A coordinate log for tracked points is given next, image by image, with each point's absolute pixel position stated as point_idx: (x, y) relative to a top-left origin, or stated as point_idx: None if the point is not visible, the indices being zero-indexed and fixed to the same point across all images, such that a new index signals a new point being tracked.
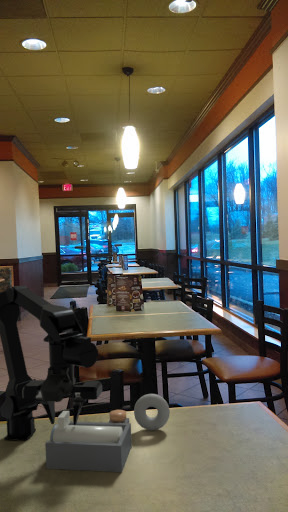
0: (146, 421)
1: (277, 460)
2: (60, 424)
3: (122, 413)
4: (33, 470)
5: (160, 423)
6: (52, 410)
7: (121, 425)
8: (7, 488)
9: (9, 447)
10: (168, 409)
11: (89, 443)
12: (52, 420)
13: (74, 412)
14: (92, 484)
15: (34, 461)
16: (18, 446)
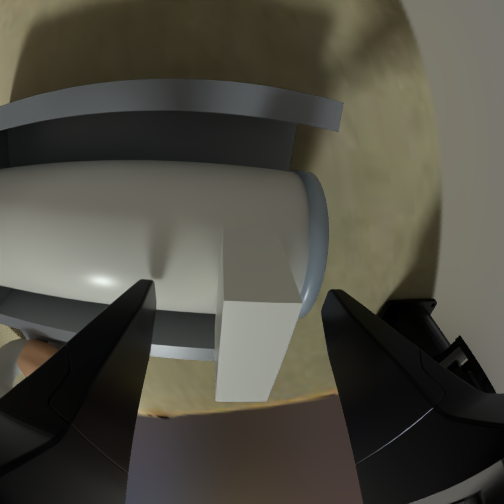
0: None
1: None
2: (261, 255)
3: (29, 372)
4: (346, 95)
5: (7, 346)
6: (365, 383)
7: (9, 313)
8: (397, 7)
9: (428, 263)
10: None
11: (30, 109)
12: (343, 305)
13: (92, 354)
14: (80, 14)
15: (355, 165)
16: (407, 270)
